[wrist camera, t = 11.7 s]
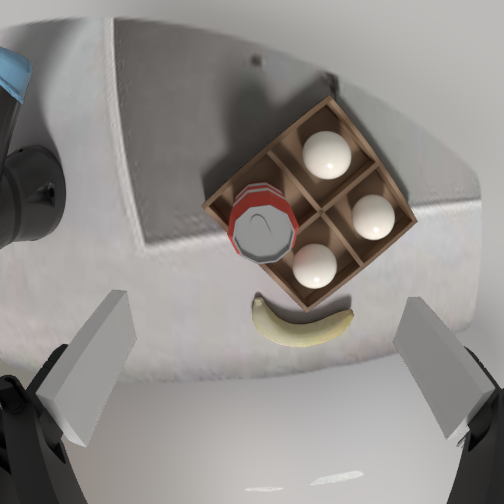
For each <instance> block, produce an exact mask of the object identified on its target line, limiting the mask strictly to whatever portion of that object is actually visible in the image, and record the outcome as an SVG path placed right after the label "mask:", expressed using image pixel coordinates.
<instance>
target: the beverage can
mask: <svg viewBox="0 0 504 504" xmlns="http://www.w3.org/2000/svg"><path fill="white" fill-rule="evenodd" d="M298 227H299V225H298V223H297V220H296V218H295V216H294V214H293V211H292V209H291V207H290V205H289V203H288V202H287V200H286V199H285V197H284V195H283V194H282V192H281V191H280V189H279V188H277V187H275V186H273V185H271V184H269V183H268V182H266V181H262V182H254V183H248V184H247V185H246V186H245V187H244V188H243V189H242V190H241V191H240V192H239V193H238V194H237V195H236V198H235V201H234V205H233V208H232V211H231V215H230V221H229V227H228V233H227V235H228V237H229V239H230V241H231V243H232V244H233V246H234V248H235V250H236V252H237V253H238V254H240V255H241V256H242V257H244V258H246V259H248V260H250V261H252V262H254V263H256V264H264V263H272V262H277V261H278V260H279V259H281V258H282V257H283V256H284V255H285V254H286V253H288V252H289V251H290V250H291V248H292V247H293V246H294V244H295V239H296V235H297V231H298Z"/></svg>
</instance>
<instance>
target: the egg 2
mask: <svg viewBox="0 0 504 504" xmlns="http://www.w3.org/2000/svg"><path fill="white" fill-rule="evenodd" d="M292 268H293V273H294V276H295V278H296V279H297V280H298V282H299V283H301V284H302V285H303V286H305V287H308V288H314V289H316V288H321V287H324V286H326V285H327V284H329V283H330V282H331V281H332V279H333V278H334V276H335V274H336V270H337V262H336V258H335V256H334V254H333V252H332V251H331V250H330V249H329V248H327V247H326V246H324V245H321V244H308V245H306V246H304V247H302V248H301V249H300V250H299V251H298V252H297V253H296V255H295V257H294V259H293V264H292Z"/></svg>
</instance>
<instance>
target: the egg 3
mask: <svg viewBox="0 0 504 504" xmlns="http://www.w3.org/2000/svg"><path fill="white" fill-rule="evenodd" d="M351 218H352V224H353V226H354V228H355V230H356V231H357V232H358V234H360V235H361V236H362V237H364V238H366V239H370V240H378V239H381V238H383V237H385V236H386V235H388V234H389V233H390V231H391V230H392V228H393V226H394V222H395V213H394V210H393V207H392V206H391V204H390V203H389V202H388V201H387V200H386V199H385V198H383V197H382V196H379V195H373V194H372V195H366V196H364V197H362V198H360V199H359V200H358V201H357V202H356V203H355V205H354V207H353V210H352V215H351Z"/></svg>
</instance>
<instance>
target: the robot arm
mask: <svg viewBox="0 0 504 504" xmlns="http://www.w3.org/2000/svg"><path fill="white" fill-rule="evenodd" d="M31 75H32V65H31V63H30V61H29V60H28V59H27V58H25V57H23V56H21V55H19V54H17V53H15V52H13V51H10V50H8V49H5V48H3V47H0V249H2V248H3V247H5V246H6V245H8V244H10V243H12V242H18V241H35V240H39V239H41V238H43V237H45V236H47V235H48V234H50V233H51V232H53V231H54V230H55V229H56V227H57V226H58V224H59V222H60V220H61V218H62V215H63V212H64V207H65V199H66V190H65V182H64V177H63V173H62V170H61V167H60V165H59V163H58V161H57V159H56V158H55V157H54V155H53V154H52V153H51V152H50V151H49V150H48V149H46V148H44V147H42V146H37V145H34V146H26V147H22V148H20V149H18V150H16V151H15V152H13V153H12V154H10V155H9V156H7V152H8V148H9V144H10V140H11V136H12V132H13V129H14V126H15V123H16V119H17V116H18V113H19V111H20V108H21V105H22V104H23V103H24V96H25V92H26V89H27V86H28V83H29V81H30V78H31ZM136 340H137V337H136V333H135V329H134V324H133V320H132V315H131V310H130V305H129V300H128V295H127V291H122V290H112V291H111V292H110V293H109V294H108V295H107V297H106V298H105V299H104V300H103V302H102V303H101V304H100V305H99V306H98V308H97V309H96V310H95V311H94V313H93V314H92V315H91V317H90V318H89V319H88V320H87V322H86V323H85V324H84V326H83V327H82V328H81V329H80V331H79V332H78V333H77V335H76V336H75V337H74V339H73V340H72V341H71V343H70V344H69V345H67V344H62V345H61V346H60V347H58V348H57V349H55V350H54V351H53V352H52V354H51V355H50V357H49V358H48V361H46V362H45V363H44V365H43V368H41V369H40V370H39V372H38V373H37V374H36V376H35V377H34V379H33V380H32V382H31V383H30V385H29V386H28V387H27V389H26V390H25V389H24V388H23V386H22V385H21V383H20V381H19V380H18V379H17V378H16V377H15V376H12V375H4V376H2V377H0V504H88V503H87V501H86V499H85V497H84V495H83V493H82V491H81V488H80V486H79V484H78V482H77V479H76V477H75V474H74V472H73V469H72V467H71V464H70V461H69V459H68V456H67V453H66V450H65V447H64V444H63V442H62V440H61V437H62V435H63V433H64V434H65V436H66V437H67V438H68V439H69V441H71V442H73V443H76V444H79V445H82V446H84V447H87V446H88V443H89V441H90V439H91V436H92V434H93V431H94V429H95V427H96V424H97V422H98V420H99V418H100V415H101V413H102V411H103V408H104V406H105V404H106V402H107V400H108V397H109V395H110V393H111V391H112V389H113V387H114V384H115V382H116V380H117V378H118V376H119V374H120V372H121V370H122V368H123V366H124V364H125V362H126V359H127V357H128V355H129V353H130V351H131V349H132V347H133V345H134V343H135V342H136ZM393 343H394V345H395V347H396V348H397V350H398V352H399V353H400V355H401V357H402V358H403V360H404V362H405V363H406V365H407V367H408V368H409V370H410V372H411V374H412V376H413V377H414V379H415V381H416V383H417V384H418V386H419V388H420V390H421V391H422V393H423V395H424V397H425V399H426V401H427V403H428V404H429V406H430V408H431V410H432V412H433V414H434V416H435V418H436V420H437V422H438V424H439V426H440V428H441V430H442V432H443V434H444V436H445V438H446V440H447V439H450V438H452V437H454V436H457V435H459V434H460V433H461V432H462V431H463V430H464V429H465V427H466V426H467V425H468V427H469V429H470V430H469V431H468V432H467V433H466V435H465V436H464V437H463V438H462V439H461V440H460V441H459V442H458V444H457V447H459V446H460V445H461V443H462V442H463V441H465V442H464V445H463V446H462V447H461V448H463V451H462V455H461V459H460V463H459V467H458V470H457V474H456V477H455V480H454V484H453V487H452V490H451V493H450V496H449V498H448V501H447V504H504V388H503V389H501V388H500V387H499V385H498V384H497V383H496V381H495V380H494V378H493V377H492V376H491V375H490V373H489V372H488V371H487V369H486V368H484V365H483V364H482V363H481V362H479V359H478V358H477V357H476V355H475V354H474V353H473V352H472V351H470V350H469V349H468V348H466V347H465V346H463V345H462V344H461V343H460V341H459V340H458V339H457V338H456V337H455V335H454V334H453V333H452V332H451V331H450V330H449V328H448V327H447V326H446V325H445V324H444V323H443V321H442V320H441V319H440V318H439V317H438V316H437V315H436V314H435V312H434V311H433V310H432V309H431V308H430V307H429V306H428V305H427V304H426V303H425V301H424V300H423V299H422V298H421V297H408V300H407V303H406V306H405V309H404V312H403V315H402V318H401V321H400V324H399V327H398V329H397V332H396V335H395V337H394V340H393Z"/></svg>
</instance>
